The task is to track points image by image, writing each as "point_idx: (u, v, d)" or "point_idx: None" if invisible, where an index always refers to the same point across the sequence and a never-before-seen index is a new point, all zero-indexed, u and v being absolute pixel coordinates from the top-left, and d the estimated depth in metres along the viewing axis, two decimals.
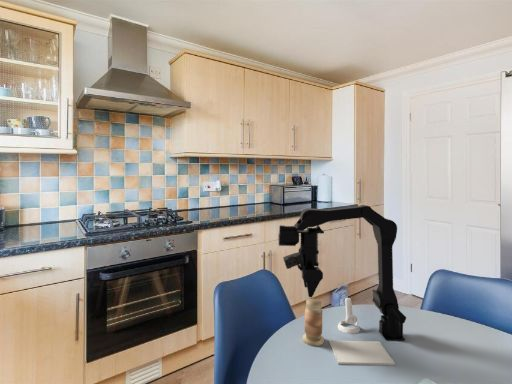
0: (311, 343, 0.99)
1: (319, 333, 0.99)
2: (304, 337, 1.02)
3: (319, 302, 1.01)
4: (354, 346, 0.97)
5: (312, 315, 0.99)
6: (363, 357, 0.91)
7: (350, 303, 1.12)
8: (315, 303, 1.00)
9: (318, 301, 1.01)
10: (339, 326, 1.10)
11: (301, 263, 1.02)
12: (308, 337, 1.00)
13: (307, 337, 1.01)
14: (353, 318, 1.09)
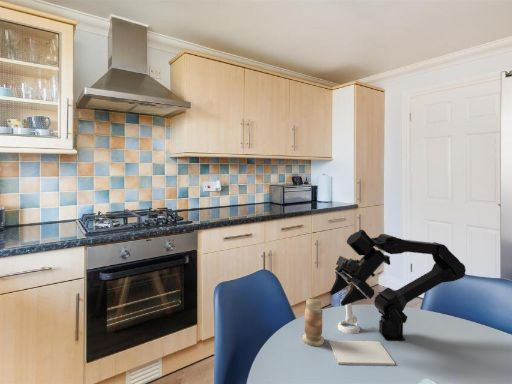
0: (311, 343, 0.99)
1: (319, 333, 0.99)
2: (304, 337, 1.02)
3: (319, 302, 1.01)
4: (354, 346, 0.97)
5: (312, 315, 0.99)
6: (363, 357, 0.91)
7: (350, 303, 1.12)
8: (315, 303, 1.00)
9: (318, 301, 1.01)
10: (339, 326, 1.10)
11: (355, 272, 1.00)
12: (308, 337, 1.00)
13: (307, 337, 1.01)
14: (353, 318, 1.09)
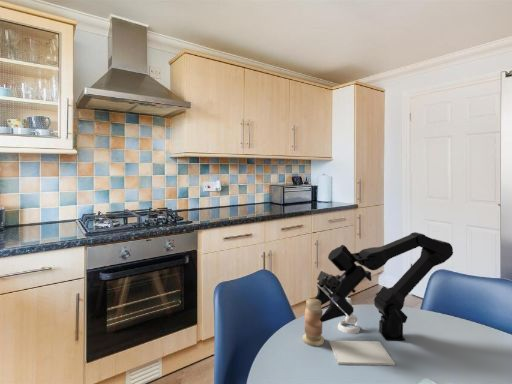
0: (311, 343, 0.99)
1: (319, 333, 0.99)
2: (304, 337, 1.02)
3: (319, 302, 1.01)
4: (354, 346, 0.97)
5: (312, 315, 0.99)
6: (363, 357, 0.91)
7: (350, 303, 1.12)
8: (315, 303, 1.00)
9: (318, 301, 1.01)
10: (339, 326, 1.10)
11: (336, 288, 0.99)
12: (308, 337, 1.00)
13: (307, 337, 1.01)
14: (353, 318, 1.09)
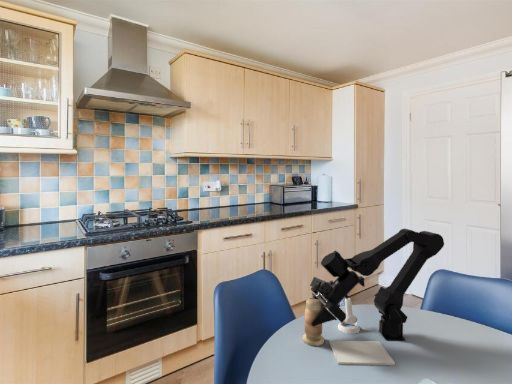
0: (311, 343, 0.99)
1: (319, 333, 0.99)
2: (304, 337, 1.02)
3: (319, 302, 1.01)
4: (354, 346, 0.97)
5: (312, 315, 0.99)
6: (363, 357, 0.91)
7: (350, 303, 1.12)
8: (315, 303, 1.00)
9: (318, 301, 1.01)
10: (339, 326, 1.10)
11: (328, 295, 0.99)
12: (308, 337, 1.00)
13: (307, 337, 1.01)
14: (353, 318, 1.09)
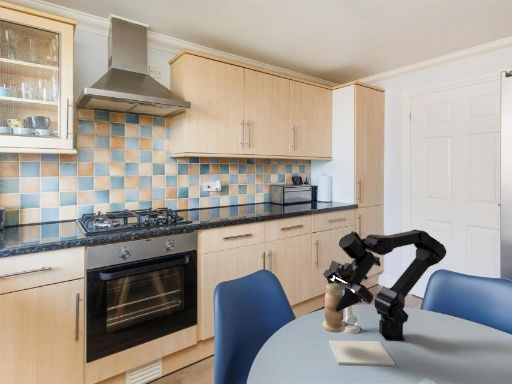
0: (335, 330, 0.93)
1: (342, 318, 0.95)
2: (325, 325, 0.96)
3: (340, 286, 0.96)
4: (354, 346, 0.97)
5: (335, 301, 0.94)
6: (363, 357, 0.91)
7: None
8: (337, 287, 0.95)
9: (338, 285, 0.97)
10: None
11: (351, 277, 0.95)
12: (331, 324, 0.95)
13: (329, 324, 0.95)
14: (353, 318, 1.09)
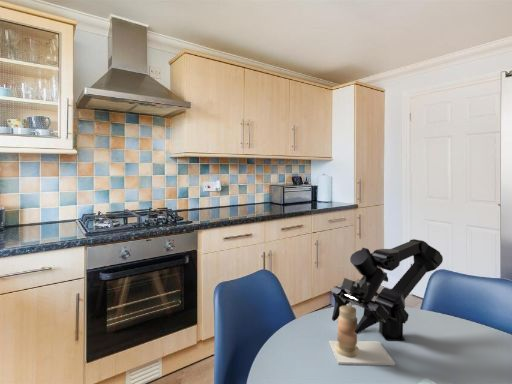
0: (350, 354, 0.91)
1: (356, 342, 0.93)
2: (339, 349, 0.94)
3: (354, 308, 0.94)
4: None
5: (351, 324, 0.92)
6: (363, 357, 0.91)
7: (350, 303, 1.12)
8: (352, 310, 0.93)
9: (351, 307, 0.95)
10: None
11: (364, 295, 0.94)
12: (345, 349, 0.93)
13: (343, 348, 0.93)
14: None
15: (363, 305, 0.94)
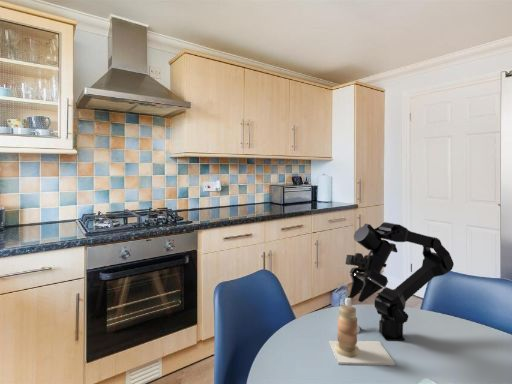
0: (350, 354, 0.91)
1: (356, 341, 0.93)
2: (339, 349, 0.94)
3: (353, 308, 0.94)
4: None
5: (351, 324, 0.92)
6: (363, 357, 0.91)
7: (350, 303, 1.12)
8: (351, 310, 0.93)
9: (351, 307, 0.95)
10: None
11: (365, 266, 0.99)
12: (345, 348, 0.93)
13: (343, 348, 0.93)
14: None
15: (368, 276, 0.98)
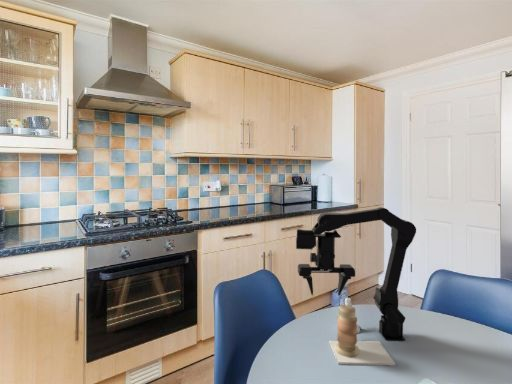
0: (351, 354, 0.91)
1: (356, 341, 0.93)
2: (339, 349, 0.94)
3: (353, 308, 0.94)
4: None
5: (350, 324, 0.92)
6: (363, 357, 0.91)
7: (350, 303, 1.12)
8: (351, 310, 0.93)
9: (351, 307, 0.95)
10: None
11: (315, 262, 1.10)
12: (345, 348, 0.93)
13: (343, 348, 0.93)
14: None
15: None
